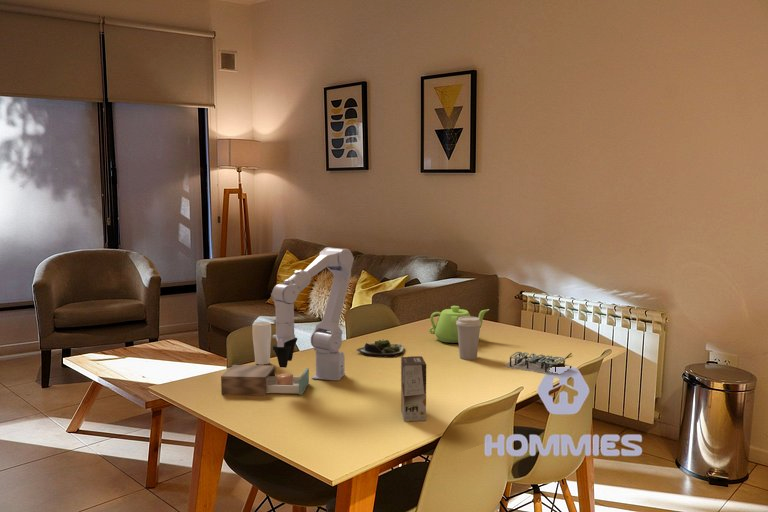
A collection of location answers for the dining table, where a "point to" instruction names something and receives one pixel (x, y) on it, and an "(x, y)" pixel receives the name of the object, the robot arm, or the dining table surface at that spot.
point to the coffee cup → (468, 337)
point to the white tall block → (261, 342)
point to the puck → (285, 379)
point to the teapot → (450, 323)
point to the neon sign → (536, 363)
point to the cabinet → (246, 379)
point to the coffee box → (413, 388)
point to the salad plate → (381, 349)
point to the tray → (297, 386)
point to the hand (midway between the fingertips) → (285, 363)
